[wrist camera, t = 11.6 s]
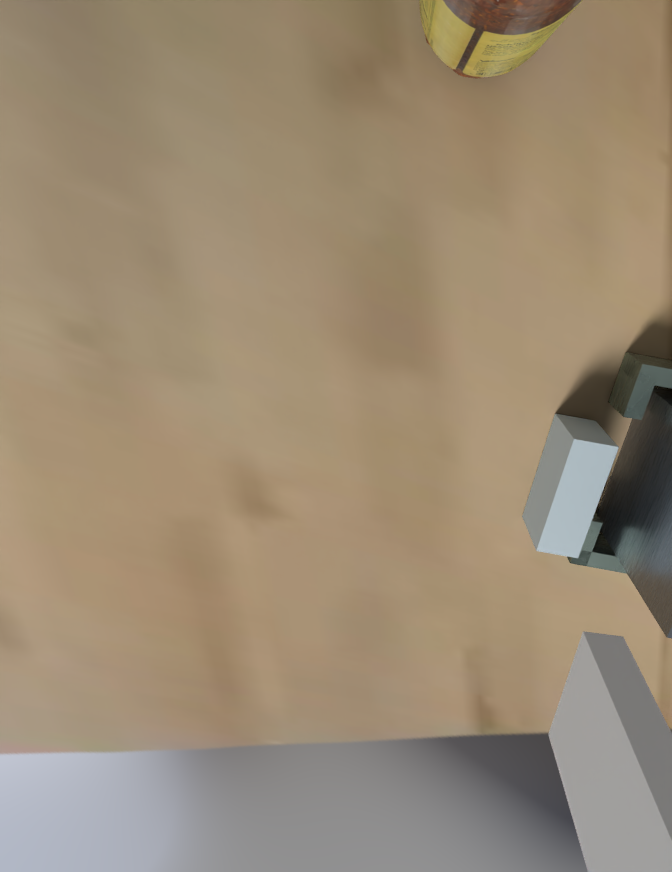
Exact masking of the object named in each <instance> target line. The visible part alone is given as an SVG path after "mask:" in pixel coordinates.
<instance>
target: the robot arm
mask: <svg viewBox="0 0 672 872" xmlns="http://www.w3.org/2000/svg"><path fill="white" fill-rule="evenodd" d="M549 738H550V741H551V745H552V748H553V752H554V755H555V759H556V762H557V765H558V769H559V772H560V776H561V779H562V783H563V786H564V790H565V793H566V797H567V800H568V803H569V807H570V811H571V814H572V817H573V821H574V824H575V828H576V831H577V835H578V838H579V842H580V845H581V849H582V852H583V856H584V859H585V863H586V866H587V870H588V872H672V733H671V731H670V729H669V727H668V725H667V723H666V721H665V719H664V717H663V715H662V713H661V711H660V709H659V707H658V705H657V703H656V701H655V699H654V697H653V695H652V693H651V691H650V689H649V687H648V685H647V683H646V681H645V679H644V677H643V675H642V673H641V671H640V669H639V667H638V665H637V663H636V661H635V659H634V657H633V655H632V653H631V651H630V650H629V648H628V646H627V644H626V642H625V640H624V638H623V637H622V636H614V635H606V634H599V633H591V632H583V633H582V636H581V639H580V642H579V645H578V648H577V651H576V654H575V657H574V660H573V663H572V666H571V669H570V672H569V675H568V678H567V681H566V684H565V687H564V690H563V693H562V696H561V699H560V702H559V705H558V708H557V711H556V714H555V717H554V720H553V722H552V725H551V728H550V731H549Z"/></svg>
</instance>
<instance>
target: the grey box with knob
mask: <svg viewBox="0 0 672 872" xmlns="http://www.w3.org/2000/svg"><path fill="white" fill-rule="evenodd" d="M597 515H598V516H599V518H600V520H601V521H602V523H603V524H602V526H601V529H600V530H601V532H602V534H603V535H604V537H605V539H606V540H607V542H608V543H609V545H610V547H611V548H612V550H613V551H614V553H615V555H616V556H617V558H618V560H619V561H620V563H621V564H622V566H623V568H624V569H625V571H626V572H627V574H628V576H629V577H630V579H631V581H632V582H633V584H634V585H635V587H636V589H637V590H638V592H639V593H640V595H641V597H642V598H643V600H644V602H645V603H646V605H647V606H648V608H649V610H650V611H651V613H652V614H653V616H654V618H655V619H656V621H657V622H658V624H659V626H660V627H661V629H662V631H663V632H664V634H665V635H666V637H667V638H672V390H668V389H663V388H657V387H654V388H653V391H652V394H651V396H650V399H649V402H648V404H647V407H646V410H645V412H644V415H643V418H642V420H638V419H632V421H631V424H630V427H629V430H628V432H627V435H626V438H625V440H624V443H623V446H622V448H621V451H620V454H619V456H618V459H617V462H616V464H615V467H614V470H613V472H612V475H611V478H610V480H609V483H608V486H607V488H606V491H605V494H604V496H603V499H602V502H601V505H600V507H599V510H598V513H597Z"/></svg>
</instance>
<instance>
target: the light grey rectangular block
mask: <svg viewBox="0 0 672 872" xmlns="http://www.w3.org/2000/svg"><path fill="white" fill-rule="evenodd" d="M618 448H619V447H618V446H617V445H616V443H615V442H614V441H613V440H612V439H611V438H610V437H609V435H608V434H607V433H606V432H605V431H604V430H603V429H602V428H601V426H600V425H599V424H598V423H597V422H596V421H594V420H589V419H583V418H578V417H572V416H567V415H561V414H556V413H555V415H554V419H553V422H552V425H551V428H550V431H549V434H548V437H547V441H546V444H545V447H544V450H543V453H542V456H541V459H540V462H539V466H538V469H537V472H536V475H535V478H534V481H533V484H532V488H531V491H530V494H529V497H528V500H527V503H526V506H525V509H524V513H523V516H522V517H523V519H524V522H525V524H526V527H527V529H528V532H529V534H530V536H531V539H532V541H533V544H534V546H535V549H536V551H540V552H546V553H551V554H557V555H562V556H568V557H573V558H578V557H579V554H580V551H581V549H582V546H583V543H584V540H585V538H586V535H587V532H588V530H589V527H590V524H591V521H592V519H593V516H594V513H595V510H596V508H597V505H598V502H599V500H600V497H601V494H602V491H603V489H604V486H605V483H606V481H607V478H608V475H609V472H610V470H611V467H612V464H613V462H614V459H615V456H616V453H617V451H618Z"/></svg>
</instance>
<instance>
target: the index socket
mask: <svg viewBox="0 0 672 872" xmlns="http://www.w3.org/2000/svg"><path fill="white" fill-rule="evenodd" d="M654 386H661V387H666V388H672V360H666V359H661V358H655V357H650V356H644V355H639V354H633V353H628V352H626V353H625V356H624V359H623V362H622V364H621V367H620V370H619V373H618V376H617V379H616V382H615V384H614V387H613V390H612V393H611V396H610V399H609V401H608V402H609V403H610V404H611V405H612V406H613V407H614V408H615V409H616V410H617V411H618V412H619V413H620V414H621V415H622V416H623V417H627V418H633V419H638V420H642V418H643V415H644V412H645V410H646V407H647V404H648V402H649V399H650V396H651V394H652V391H653V388H654ZM602 524H603V523H602V521H601V520H600V518H599V516H598V515H597V513H596V512H595V513H594V516H593V519H592V521H591V524H590V527H589V530H588V532H587V535H586V538H585V540H584V543H583V546H582V549H581V551H580V554H579V557H578V558H573V557H568V556H567V558H568V560H569V562H570V563H572V564H578V565H583V566H589V567H594V568H599V569H605V570H610V571H616V572H621V573H627V572H626V571H625V569H624V568H623V566H622V564H621V563H620V561H619V560H618V558H617V556H616V555H615V553H614V551H613V550H612V548H611V547H610V545H609V543H608V542H607V540H606V539H605V537H604V535H601V534H599V532H600V529H601V526H602Z"/></svg>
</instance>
